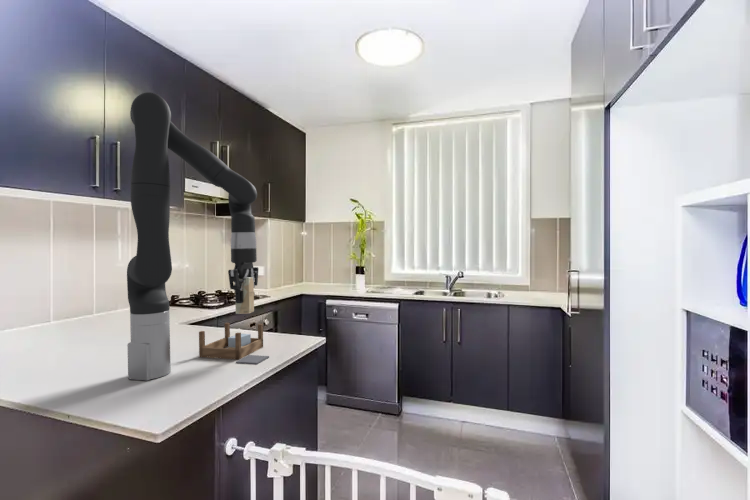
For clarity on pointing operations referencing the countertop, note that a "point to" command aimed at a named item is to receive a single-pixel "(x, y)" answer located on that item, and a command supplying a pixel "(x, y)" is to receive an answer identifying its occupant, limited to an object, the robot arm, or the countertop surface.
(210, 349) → the frame
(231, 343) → the offcut top
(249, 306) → the box
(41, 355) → the countertop surface
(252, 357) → the mat
